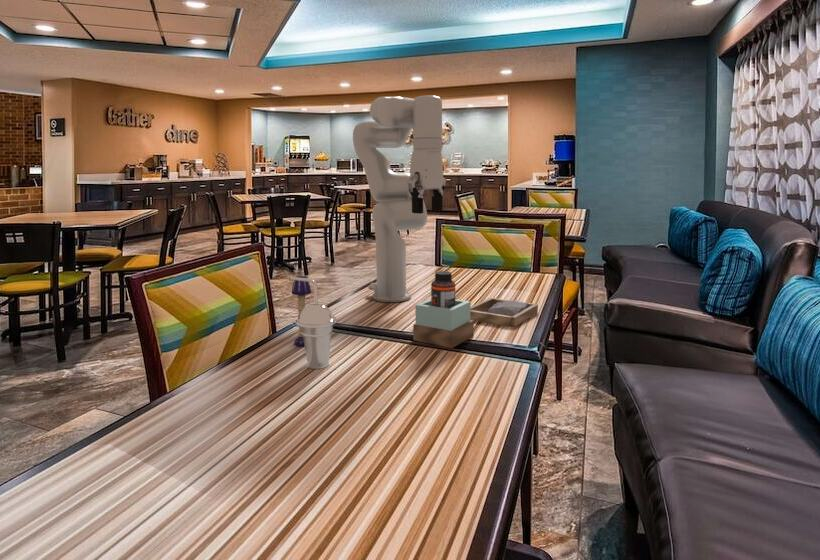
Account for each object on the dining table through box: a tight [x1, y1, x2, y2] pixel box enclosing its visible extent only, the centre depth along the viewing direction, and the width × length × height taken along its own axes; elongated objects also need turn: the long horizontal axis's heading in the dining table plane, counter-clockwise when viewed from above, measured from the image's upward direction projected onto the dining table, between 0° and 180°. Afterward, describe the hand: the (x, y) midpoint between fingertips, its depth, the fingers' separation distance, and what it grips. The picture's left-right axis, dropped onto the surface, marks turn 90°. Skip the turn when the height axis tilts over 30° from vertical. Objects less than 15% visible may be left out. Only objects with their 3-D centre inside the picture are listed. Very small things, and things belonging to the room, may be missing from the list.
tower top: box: [414, 298, 472, 331], centre depth 135 cm, size 10×10×5 cm
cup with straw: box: [288, 276, 337, 370], centre depth 116 cm, size 8×9×20 cm
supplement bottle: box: [430, 270, 456, 309], centre depth 134 cm, size 6×6×11 cm
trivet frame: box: [470, 297, 539, 327], centre depth 156 cm, size 15×17×2 cm
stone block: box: [487, 300, 529, 316], centre depth 156 cm, size 12×5×10 cm
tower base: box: [412, 320, 475, 349], centre depth 136 cm, size 11×11×4 cm
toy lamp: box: [291, 275, 312, 347], centre depth 131 cm, size 5×5×17 cm
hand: (427, 211), depth 145 cm, fingers open, 9 cm apart
